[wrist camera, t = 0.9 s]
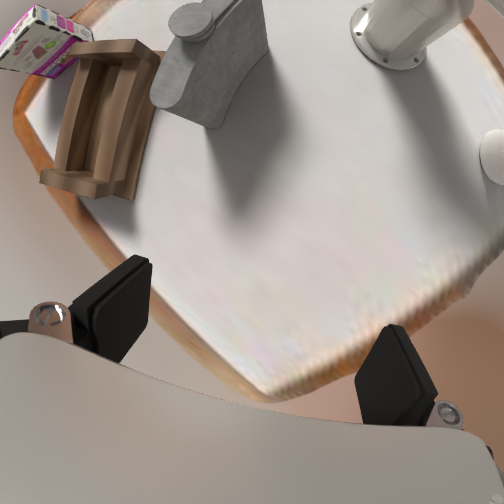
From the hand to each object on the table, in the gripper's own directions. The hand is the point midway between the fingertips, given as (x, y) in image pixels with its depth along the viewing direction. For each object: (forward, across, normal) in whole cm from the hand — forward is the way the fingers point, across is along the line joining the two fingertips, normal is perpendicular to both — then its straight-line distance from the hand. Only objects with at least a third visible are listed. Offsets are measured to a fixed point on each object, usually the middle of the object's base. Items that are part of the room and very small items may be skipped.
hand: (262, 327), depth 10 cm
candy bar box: (+32, +44, -20) cm, 57 cm away
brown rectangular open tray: (+31, +29, -7) cm, 43 cm away
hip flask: (+32, +11, -15) cm, 37 cm away
